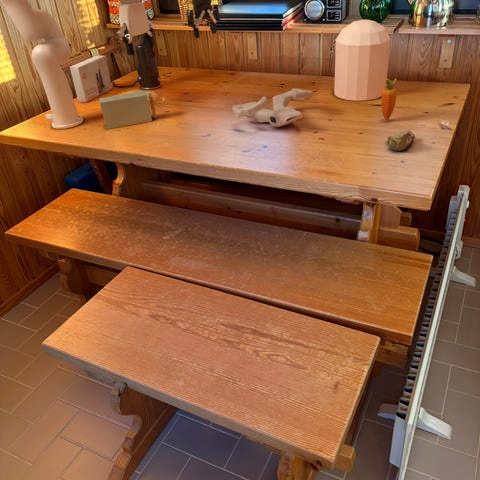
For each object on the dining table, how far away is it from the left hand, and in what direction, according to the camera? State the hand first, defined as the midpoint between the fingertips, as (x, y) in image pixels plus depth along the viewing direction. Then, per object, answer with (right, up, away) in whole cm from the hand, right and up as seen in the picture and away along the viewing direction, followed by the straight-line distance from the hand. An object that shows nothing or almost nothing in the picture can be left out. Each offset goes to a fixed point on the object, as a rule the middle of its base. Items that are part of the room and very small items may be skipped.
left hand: (140, 51), depth 169 cm
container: (+87, -7, +25) cm, 90 cm away
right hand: (+23, +13, +16) cm, 31 cm away
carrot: (+89, -26, -3) cm, 93 cm away
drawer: (-4, -20, +18) cm, 27 cm away
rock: (+88, -39, -21) cm, 99 cm away
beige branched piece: (+51, -26, +2) cm, 57 cm away
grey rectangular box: (-9, -22, +18) cm, 29 cm away
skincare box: (-33, +1, +53) cm, 63 cm away
